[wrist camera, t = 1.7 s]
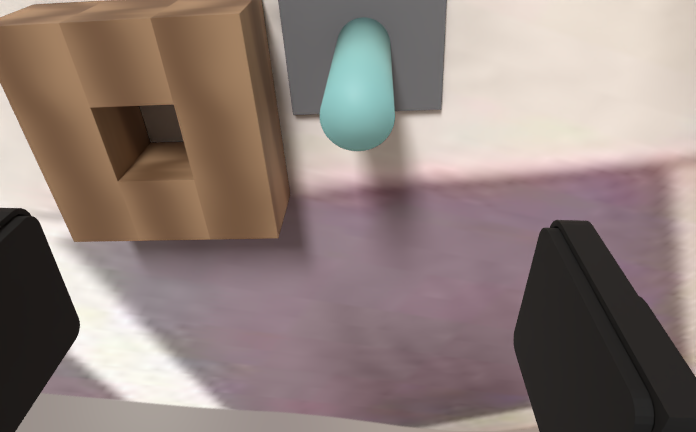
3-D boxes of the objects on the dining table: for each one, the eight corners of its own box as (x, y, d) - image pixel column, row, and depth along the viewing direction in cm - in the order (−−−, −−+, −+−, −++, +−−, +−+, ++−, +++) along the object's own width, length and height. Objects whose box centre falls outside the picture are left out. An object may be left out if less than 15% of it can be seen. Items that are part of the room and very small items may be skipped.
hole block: (260, -8, 27) (239, 13, 23) (290, 194, 35) (278, 238, 30) (33, 4, 28) (-26, 27, 24) (109, 198, 36) (74, 241, 31)
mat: (447, -40, 26) (448, -39, 26) (440, 107, 30) (441, 109, 30) (275, -30, 27) (274, -29, 26) (294, 112, 31) (293, 114, 31)
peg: (389, 15, 27) (394, 79, 19) (390, 70, 29) (395, 149, 21) (335, 18, 27) (316, 82, 19) (339, 72, 29) (323, 152, 21)
